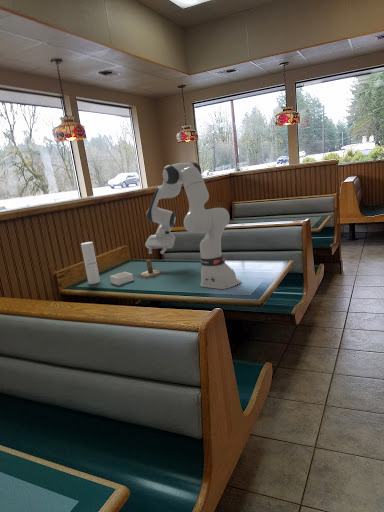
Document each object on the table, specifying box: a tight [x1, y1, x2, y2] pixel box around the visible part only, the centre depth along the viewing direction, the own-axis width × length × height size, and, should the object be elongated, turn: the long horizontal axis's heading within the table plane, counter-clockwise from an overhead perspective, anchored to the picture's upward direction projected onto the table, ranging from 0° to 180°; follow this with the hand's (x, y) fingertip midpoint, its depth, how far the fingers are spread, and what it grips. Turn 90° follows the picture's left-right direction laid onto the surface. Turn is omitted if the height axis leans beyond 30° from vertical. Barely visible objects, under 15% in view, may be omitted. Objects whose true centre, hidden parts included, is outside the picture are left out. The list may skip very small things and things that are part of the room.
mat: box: [134, 270, 169, 281], centre depth 236 cm, size 16×16×1 cm
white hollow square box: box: [109, 271, 134, 286], centre depth 229 cm, size 10×10×4 cm
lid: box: [140, 259, 161, 277], centre depth 235 cm, size 12×12×9 cm
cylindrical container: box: [80, 241, 101, 285], centre depth 234 cm, size 7×7×25 cm
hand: (155, 253), depth 240 cm, fingers open, 8 cm apart
